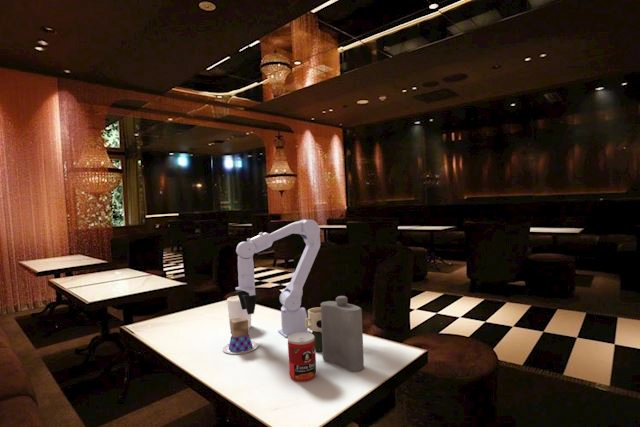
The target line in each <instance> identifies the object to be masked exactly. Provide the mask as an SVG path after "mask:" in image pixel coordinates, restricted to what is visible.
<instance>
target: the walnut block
mask: <svg viewBox="0 0 640 427" xmlns="http://www.w3.org/2000/svg"><path fill="white" fill-rule="evenodd" d="M229 329H230V334H231V336H233V337H239V336H244V335H249V336H250V334H249V328H248V320H247V319H246V318H245V317H239V318H233V319H230V323H229Z"/></svg>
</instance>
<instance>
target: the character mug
mask: <svg viewBox="0 0 640 427" xmlns="http://www.w3.org/2000/svg"><path fill="white" fill-rule="evenodd" d="M305 327H306V328H308V331H311V334H313V335H314V336H315V351H323V347H322V324H321V306H320V307H312V308H309V309H307V318H306V319H305Z"/></svg>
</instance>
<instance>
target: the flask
mask: <svg viewBox="0 0 640 427" xmlns="http://www.w3.org/2000/svg"><path fill="white" fill-rule="evenodd" d="M320 307H321V324H322V347H323V350H322V359H323V360H324V361H325V362H328V363H332V364H334V365H338V366H340V367H343V368H345V369H347V370H348V371H350V372H352V373H353V372H354V373H355V372H361V371H363V370H364V369H365V361H364V360H365V358H364V338H363V337H364V335H363V334H364V333H363V313H362V312H363V310H362V307H360V306H358V305H356V304H352V303H348V297H347V296H345V295H339V296H338V295H337V297H336V298H335V300H327V301H322V302H321V303H320Z"/></svg>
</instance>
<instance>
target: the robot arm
mask: <svg viewBox="0 0 640 427" xmlns="http://www.w3.org/2000/svg"><path fill="white" fill-rule="evenodd" d="M320 233H321V228H320V226H319V224H318V222H317V221H316V220H314V219H304V218H303V219H300V220H297V221H294V222H292V223H289V224H287V225H285V226H283V227H281V228H279V229H277V230H275V231H272V232H271V233H268V232H263V231H261V232H259V233H258V235H256V236H254V237H251V238H250V237H249V238H246V241H241V242H239V243H238V244H237V246H236V249H235V253H236V254H237V273H238V274H237V275H238V276H237V280H238V286H236V287H235V293H236V296H238V297H239V300H240V303H241V307H242V310H244V309H247V313H248V315H249V314H251V315H255V309H256V303H257V301H258V298H259V296H260V295H259V293H256V285H255V284H256V282H255V267H254V266H255V264H254V254H258V253H260V252H261V251H264V250H267V249H269V248H271V247H272V245H273V243H274V242H275V241H278V240H281V239H283V238H285V237H288V236H291V235H292V234H295V235H296V234H297V235H300V236H301V237H302V239H303V242H304V243H305V247H304V249H303V252H302V254H301V256H300V259H299V261H298V263H297V266H296V268H295V270H294V273H293V275H292V277H291V279H290V282H289V283H288V284H287V285H286V286H285V289H283V291H282V292H281V293H280V295H279V298H278V299H279V302H280V304H281V305H282V306H281V307H280V313H281V314H280V315H281V316H280V317H281V329H278V330H277V331H278V333H280V334H281V335H282V336H283V337H284V338H288V337H289V336H290V335H292V334H295V333H301V332H306V333H309V328H306V327H305V319H306V318H308V312H307V310H306V308H305V307H301V305H302V297H303V289H304V288H303V287H304V285H305V283H306V282H307V281H306V280H307V278H308V276H309V274H310V272H311V270H312V269H311V268H312V266H313V264H314V262H315V259H316V257H317V256H318V252H319V250H320V248H321V234H320Z"/></svg>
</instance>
